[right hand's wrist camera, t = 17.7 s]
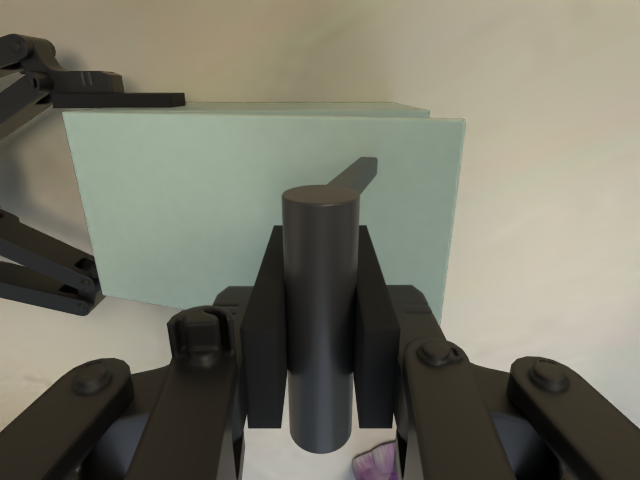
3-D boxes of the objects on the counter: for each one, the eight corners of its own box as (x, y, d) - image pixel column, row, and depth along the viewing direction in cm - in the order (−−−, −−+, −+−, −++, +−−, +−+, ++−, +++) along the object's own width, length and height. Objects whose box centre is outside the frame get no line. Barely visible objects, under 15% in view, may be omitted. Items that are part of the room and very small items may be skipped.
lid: (465, 118, 14) (483, 151, 7) (436, 343, 18) (428, 518, 11) (75, 110, 19) (-151, 124, 12) (113, 288, 23) (-44, 383, 16)
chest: (392, 102, 29) (430, 110, 20) (384, 227, 33) (413, 287, 23) (155, 102, 29) (73, 110, 19) (173, 227, 33) (112, 288, 23)
